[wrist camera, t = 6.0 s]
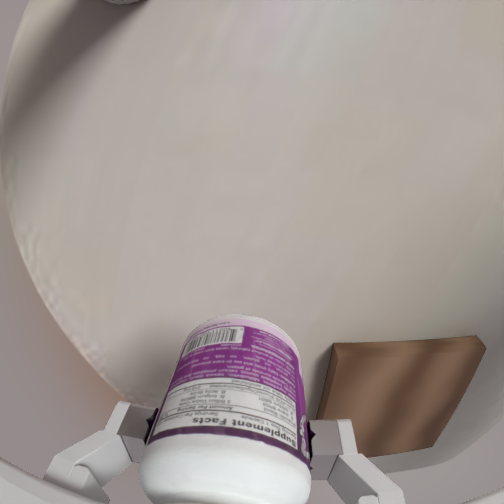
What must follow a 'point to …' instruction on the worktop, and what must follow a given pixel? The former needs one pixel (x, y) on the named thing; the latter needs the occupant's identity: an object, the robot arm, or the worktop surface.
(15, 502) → the robot arm
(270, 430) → the pill bottle
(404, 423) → the walnut board
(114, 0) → the lotion bottle
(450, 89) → the worktop surface
